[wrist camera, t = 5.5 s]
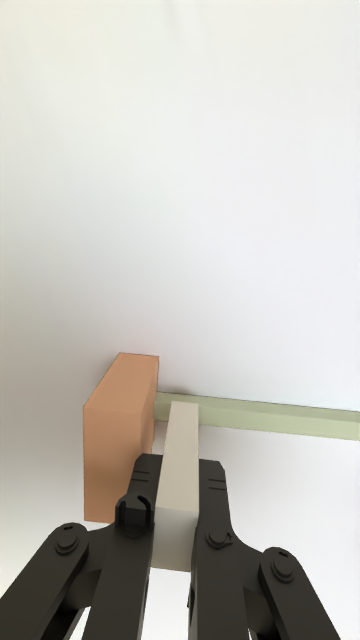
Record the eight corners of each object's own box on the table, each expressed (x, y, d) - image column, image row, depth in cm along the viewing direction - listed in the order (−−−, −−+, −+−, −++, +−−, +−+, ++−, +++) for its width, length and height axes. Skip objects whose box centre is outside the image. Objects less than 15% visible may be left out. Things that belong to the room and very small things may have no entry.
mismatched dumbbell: (117, 436, 19) (65, 566, 12) (119, 352, 18) (61, 439, 10) (487, 475, 19) (692, 640, 11) (524, 391, 17) (795, 516, 9)
